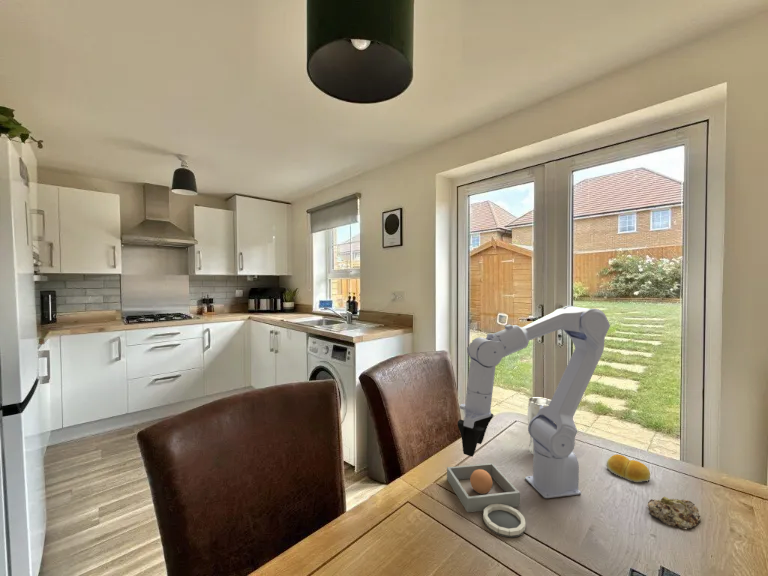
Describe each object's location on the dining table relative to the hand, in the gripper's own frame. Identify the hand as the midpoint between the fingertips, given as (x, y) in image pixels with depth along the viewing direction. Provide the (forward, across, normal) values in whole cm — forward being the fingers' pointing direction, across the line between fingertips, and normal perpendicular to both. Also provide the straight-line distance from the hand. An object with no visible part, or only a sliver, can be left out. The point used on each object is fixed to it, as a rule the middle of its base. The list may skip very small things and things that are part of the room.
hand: (472, 448), depth 79 cm
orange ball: (+8, -2, +2) cm, 8 cm away
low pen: (+10, -2, +3) cm, 11 cm away
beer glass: (+8, -29, +13) cm, 32 cm away
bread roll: (+6, -29, +33) cm, 45 cm away
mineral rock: (+7, -15, +40) cm, 43 cm away
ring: (+10, +6, +9) cm, 15 cm away
